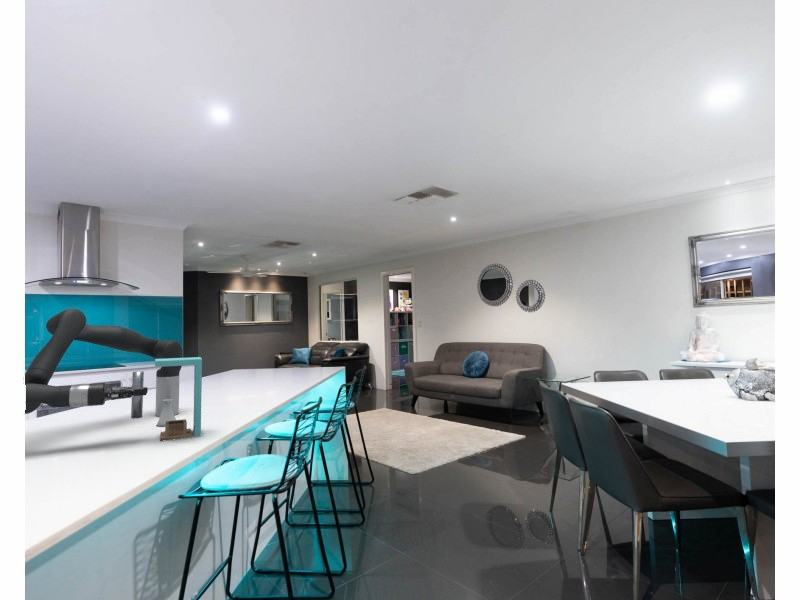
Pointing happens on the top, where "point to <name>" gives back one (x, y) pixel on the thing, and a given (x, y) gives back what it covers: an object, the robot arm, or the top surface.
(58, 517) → the top surface
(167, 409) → the flask
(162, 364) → the teal angle bracket
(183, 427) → the socket
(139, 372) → the peg
